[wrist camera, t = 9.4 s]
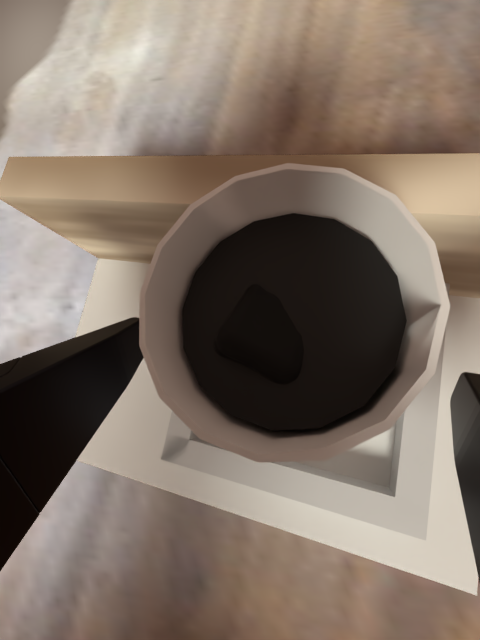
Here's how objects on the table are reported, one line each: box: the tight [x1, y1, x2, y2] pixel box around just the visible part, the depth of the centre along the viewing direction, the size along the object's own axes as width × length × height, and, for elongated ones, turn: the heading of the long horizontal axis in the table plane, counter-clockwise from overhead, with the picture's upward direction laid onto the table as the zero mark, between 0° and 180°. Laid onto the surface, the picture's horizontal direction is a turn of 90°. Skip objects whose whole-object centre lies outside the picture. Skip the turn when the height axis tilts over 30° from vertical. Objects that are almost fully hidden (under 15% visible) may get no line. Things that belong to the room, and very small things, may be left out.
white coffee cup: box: [139, 163, 450, 463], centre depth 12 cm, size 7×7×10 cm
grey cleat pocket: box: [75, 258, 480, 595], centre depth 17 cm, size 12×22×4 cm, turn 78°
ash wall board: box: [0, 153, 480, 298], centre depth 16 cm, size 2×22×9 cm, turn 78°
